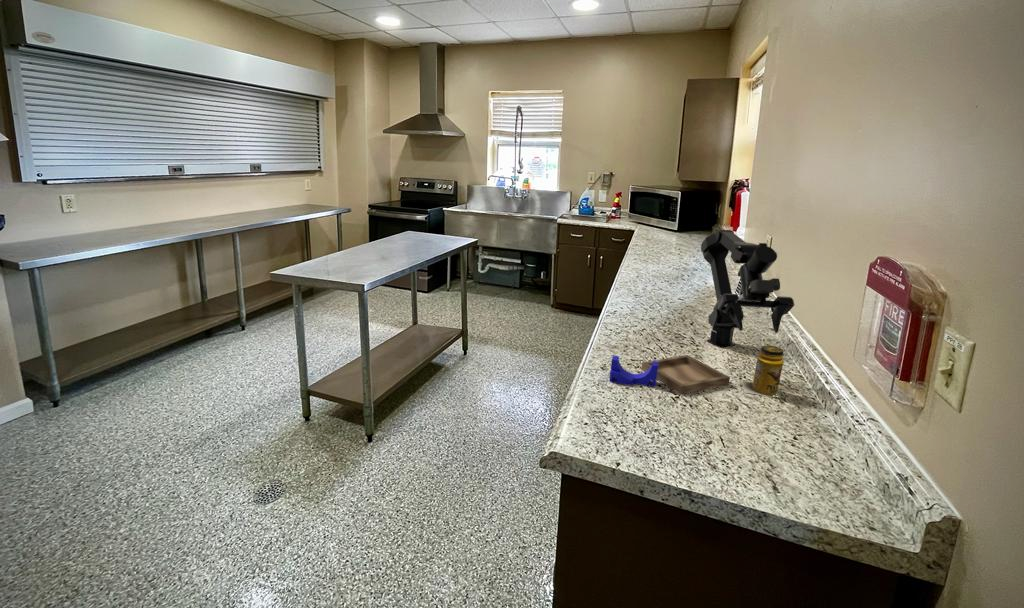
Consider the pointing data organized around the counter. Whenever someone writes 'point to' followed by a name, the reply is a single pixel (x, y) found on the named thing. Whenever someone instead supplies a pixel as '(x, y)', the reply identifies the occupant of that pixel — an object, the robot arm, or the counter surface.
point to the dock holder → (687, 374)
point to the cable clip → (628, 378)
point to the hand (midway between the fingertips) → (758, 331)
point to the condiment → (766, 372)
